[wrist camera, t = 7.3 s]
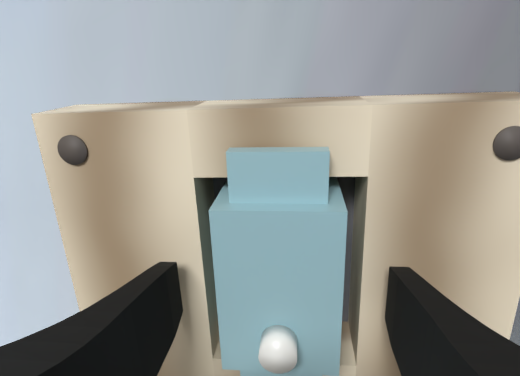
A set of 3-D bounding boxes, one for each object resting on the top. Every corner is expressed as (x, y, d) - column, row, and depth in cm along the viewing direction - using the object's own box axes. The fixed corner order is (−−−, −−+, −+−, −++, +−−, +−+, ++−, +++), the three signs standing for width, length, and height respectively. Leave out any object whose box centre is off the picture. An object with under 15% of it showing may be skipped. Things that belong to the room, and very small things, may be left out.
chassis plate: (513, 91, 12) (568, 99, 10) (462, 364, 16) (492, 419, 14) (77, 104, 14) (29, 114, 12) (126, 348, 18) (98, 394, 16)
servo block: (336, 129, 13) (354, 164, 9) (328, 331, 16) (339, 433, 12) (229, 130, 14) (196, 165, 9) (241, 327, 17) (220, 424, 12)
